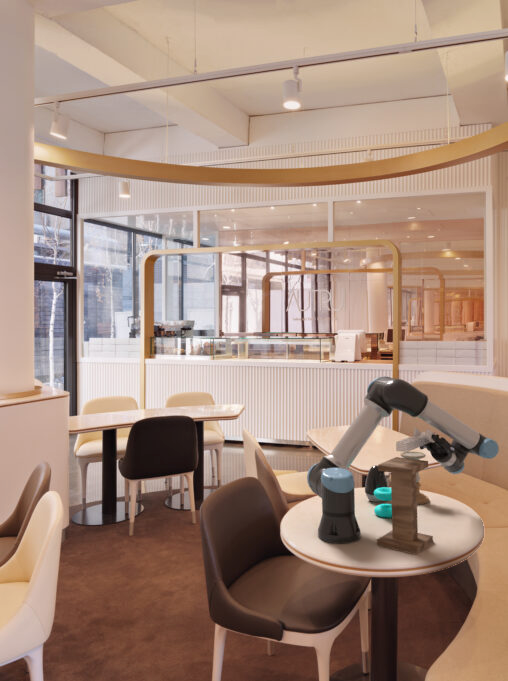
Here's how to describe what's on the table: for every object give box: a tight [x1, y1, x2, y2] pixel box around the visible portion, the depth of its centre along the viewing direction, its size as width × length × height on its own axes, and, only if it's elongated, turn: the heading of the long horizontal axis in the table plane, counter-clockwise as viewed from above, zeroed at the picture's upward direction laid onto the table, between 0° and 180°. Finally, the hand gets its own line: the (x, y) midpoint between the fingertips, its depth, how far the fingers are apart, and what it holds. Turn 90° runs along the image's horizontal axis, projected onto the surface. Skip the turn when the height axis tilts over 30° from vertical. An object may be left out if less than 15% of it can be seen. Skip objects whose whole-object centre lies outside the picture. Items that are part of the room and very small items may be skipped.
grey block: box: [395, 431, 436, 453], centre depth 206 cm, size 24×4×3 cm, turn 140°
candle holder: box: [400, 451, 430, 505], centre depth 247 cm, size 12×12×20 cm
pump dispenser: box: [364, 464, 388, 503], centre depth 249 cm, size 10×10×15 cm
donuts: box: [373, 487, 392, 519], centre depth 229 cm, size 10×10×10 cm
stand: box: [376, 456, 434, 555], centre depth 198 cm, size 14×14×28 cm
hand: (421, 432), depth 209 cm, fingers closed on grey block, 4 cm apart
